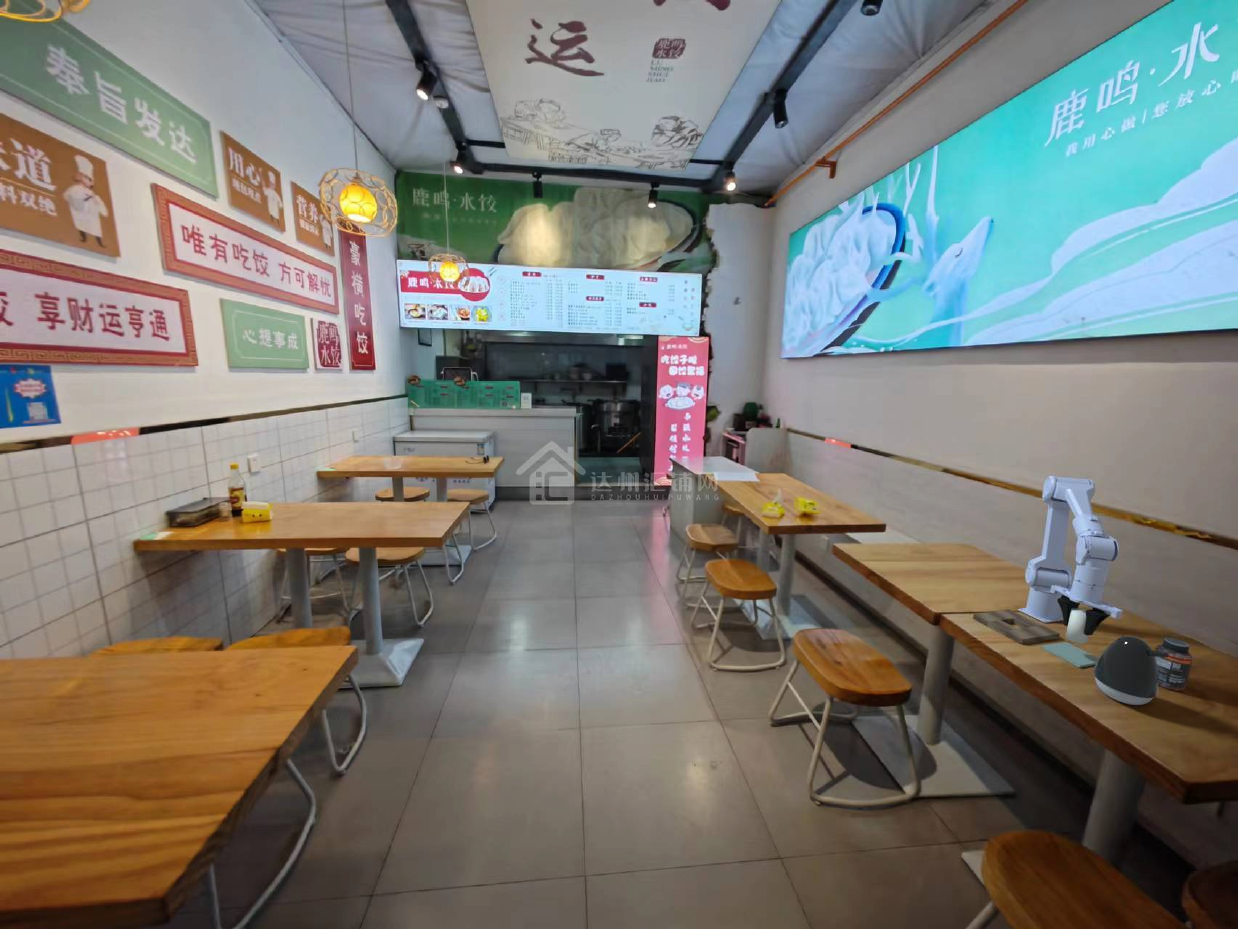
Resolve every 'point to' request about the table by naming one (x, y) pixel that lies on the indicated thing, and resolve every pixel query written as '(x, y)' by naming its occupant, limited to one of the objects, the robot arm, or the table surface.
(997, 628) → the socket board
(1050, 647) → the rubber mat
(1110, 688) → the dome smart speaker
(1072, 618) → the white cylinder
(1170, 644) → the supplement bottle
